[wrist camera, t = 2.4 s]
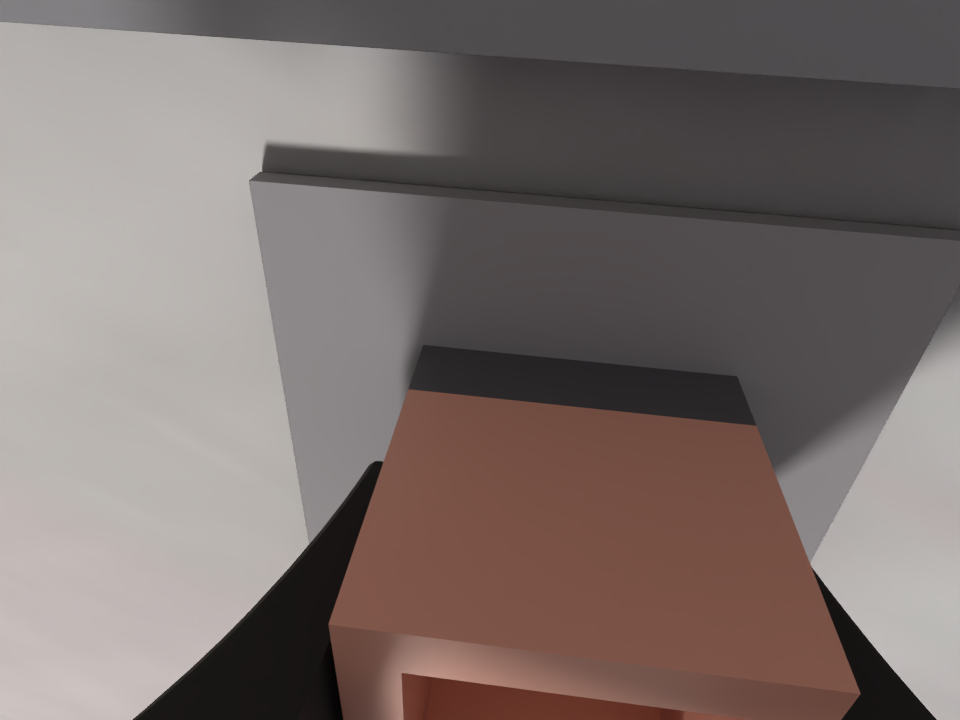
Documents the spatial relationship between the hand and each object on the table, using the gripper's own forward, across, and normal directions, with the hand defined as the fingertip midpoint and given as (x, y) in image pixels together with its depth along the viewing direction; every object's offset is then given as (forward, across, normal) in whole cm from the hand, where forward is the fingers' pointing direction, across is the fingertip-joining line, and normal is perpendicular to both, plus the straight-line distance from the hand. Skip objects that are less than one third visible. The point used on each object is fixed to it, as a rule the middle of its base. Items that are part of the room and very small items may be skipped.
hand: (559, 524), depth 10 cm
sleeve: (+1, 0, 0) cm, 1 cm away
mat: (+2, 0, 0) cm, 2 cm away
